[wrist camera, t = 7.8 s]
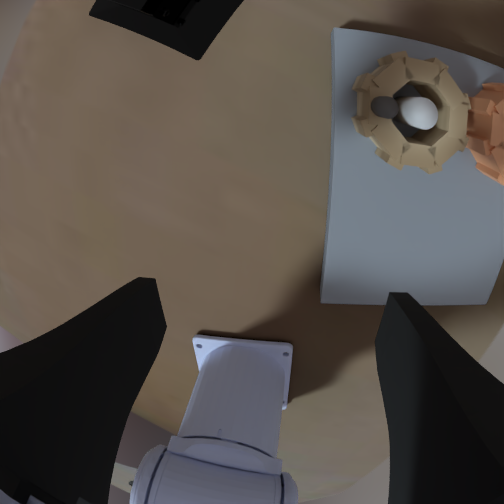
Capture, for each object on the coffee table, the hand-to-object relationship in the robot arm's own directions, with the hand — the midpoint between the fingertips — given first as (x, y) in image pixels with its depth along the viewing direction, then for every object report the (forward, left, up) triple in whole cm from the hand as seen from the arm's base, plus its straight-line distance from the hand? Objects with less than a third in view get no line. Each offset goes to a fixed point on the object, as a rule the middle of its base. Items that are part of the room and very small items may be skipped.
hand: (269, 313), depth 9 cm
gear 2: (+6, -12, -8) cm, 16 cm away
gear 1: (+6, -6, -8) cm, 12 cm away
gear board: (+2, -9, -10) cm, 14 cm away
